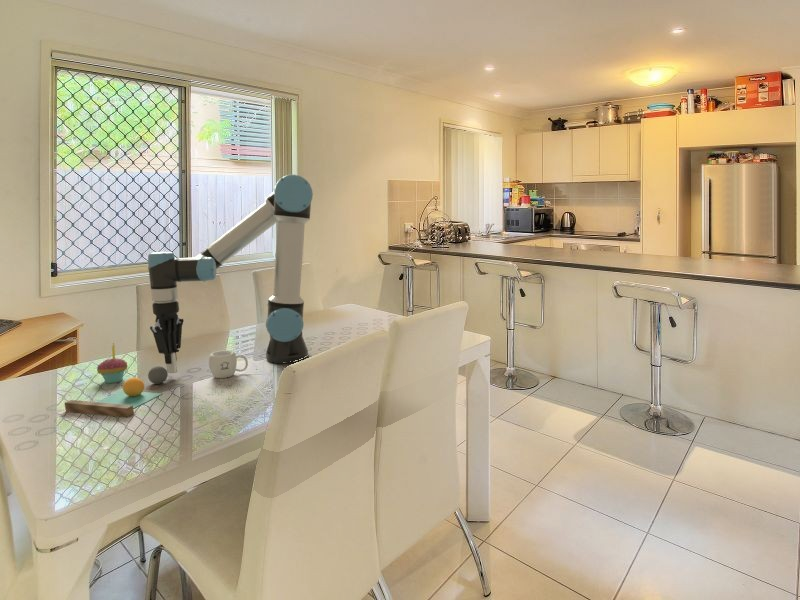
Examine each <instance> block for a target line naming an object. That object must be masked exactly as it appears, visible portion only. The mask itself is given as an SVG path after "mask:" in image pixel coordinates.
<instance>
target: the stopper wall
mask: <svg viewBox="0 0 800 600" xmlns="http://www.w3.org/2000/svg"><path fill="white" fill-rule="evenodd" d="M64 408H65V409H64V410H65V412H67V411H70V412H69V413H77V414H78V413H79V414H88V415H89V414H90V415H100V416H110V417H120V418H130V417H132V416H134V415H135V411H134V409H133V405H122V404H111V403H100V402H97V401H86V400H74V399H70V400H67V401H65V402H64Z"/></svg>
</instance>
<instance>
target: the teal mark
mask: <svg viewBox="0 0 800 600" xmlns="http://www.w3.org/2000/svg"><path fill="white" fill-rule="evenodd" d="M162 395H163V393H160V392H150V391H149V392H147V391H143V392H142V393H141V394H140V395H138V396H135V397H131V396H128V395H126V394H125V393H124V391H123V389H122V390H120V391H118V392H115V393H112V394H111V395H108V396H106V397H104V398H102V399H100V400H97V401H96V402H100V403H111V404H122V405H133V410H134V409H136V408H138V407H140V406H142V405H144V404H146V403H147V402H149V401H152V400H153V399H155V398H158V397H160V396H162Z"/></svg>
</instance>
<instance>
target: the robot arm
mask: <svg viewBox="0 0 800 600" xmlns="http://www.w3.org/2000/svg"><path fill="white" fill-rule="evenodd" d="M313 193H314V192H313V188H312V187H311V184H310V182H309V181H308V180H306V179H305V177H303V176H301V175H297V174H286V175H283V176H282V177H280V178H279V179H278V180H277V181H276V183H275V185H274V188H273V192H271V194H269V195H268V196H267V197H265V199H264V203H263V204H261V205H260V206H259V207H258V208H257V209H255V210H254V211H252V212H251V213H250V214H249V215H247V216H246V217H245V218H243V219H242V220H241V221H239V222H238V223H237V224H235V226H233V227H232V228H231V229H229V230H228V231H227V232H226V233H224V234H223V235H222V236H220V237H219V238H218V239H217V240H216V241H214V242H212V244H210V245H208V246H207V248H205V249H204V250H202V251H201V252H200V253H198V254H197V255H196V256H193V257H175V253H173V252H172V251H158V252H151V253H149V254H148V256H147V259H148V260H147V263H148V268H147V269H148V274H149V275H148V276H149V284H150V294H151V301H152V303H151V306H152V314H154V315H155V320H154V322H155V323H154V325H151V326H150V327H149V329H150V331H151V332H152V334H153V338H154V340H155V344H156V347H157V352H158V354H162V355H164V363H165V365H166V366H165V367H166V370H167V373H168V374H175V373H178V365H177V362H178V361H177V360H178V357H177V353H179V352H180V349H181V347H182V346H181V345H182V334H183V333H182V332H183V324H184V318H180V317H179V316H178V313H179V312H180V306H179V305H180V304H179V301H178V299H179V293H178V285H177V283H179V282H180V283H182V282H208V281H214V280H215V279H216V277H217V270H218V269H219V268H220V267H221V266H223V265H224V264H225V263H227V262H228V261H229V260H230V259H232V258H234V256H236V255H237V254H238V253H239V252H240V251H242V250H243V249H245V248H246V247H248V245H250V244H251V243H252V242H254V241H255V240H256V239H257V238H259V237H260V236H261V235H263V234H264V233H265V232H266V231H267V230H269V229H270V228H271V227H272V226H274V225H275V224H276V223H277V228H276V229H277V231H276V247H275V261H274V262H275V264H274V265H275V266H274V279H273V280H274V281H273V294H272V295H271V296H269V298H268V299H267V305H266V306H267V317H266V321H265V328H266V331H267V332H268V335H269V341H268V345H267V348H266V352H265V360H266V359H267V360H268V361H267V360H266V361H267V362H269V361H270V362H269V363H272V362H274V363H273V364H284V363H283V362H290V361H291V362H293V361H295V360H298V361H299V359H301V358H303V359H304V360H306V359H307V358H306V357H305V356H307V355H308V356H309V350H308V347H307V345H306V341H305V339H304V337H303V329H304V319H303V318H304V305H305V300H304V299H303V298H302V297H301V282H302V270H303V269H302V268H303V254H304V238H305V226H306V224H307V223H308V222H309V221H310V220H311V209H312V206H311V205H312V201H313ZM304 357H305V358H306V359H305V358H304ZM303 359H301V360H302V361H304V360H303ZM299 362H300V361H299ZM295 363H297V361H296V362H295Z"/></svg>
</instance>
